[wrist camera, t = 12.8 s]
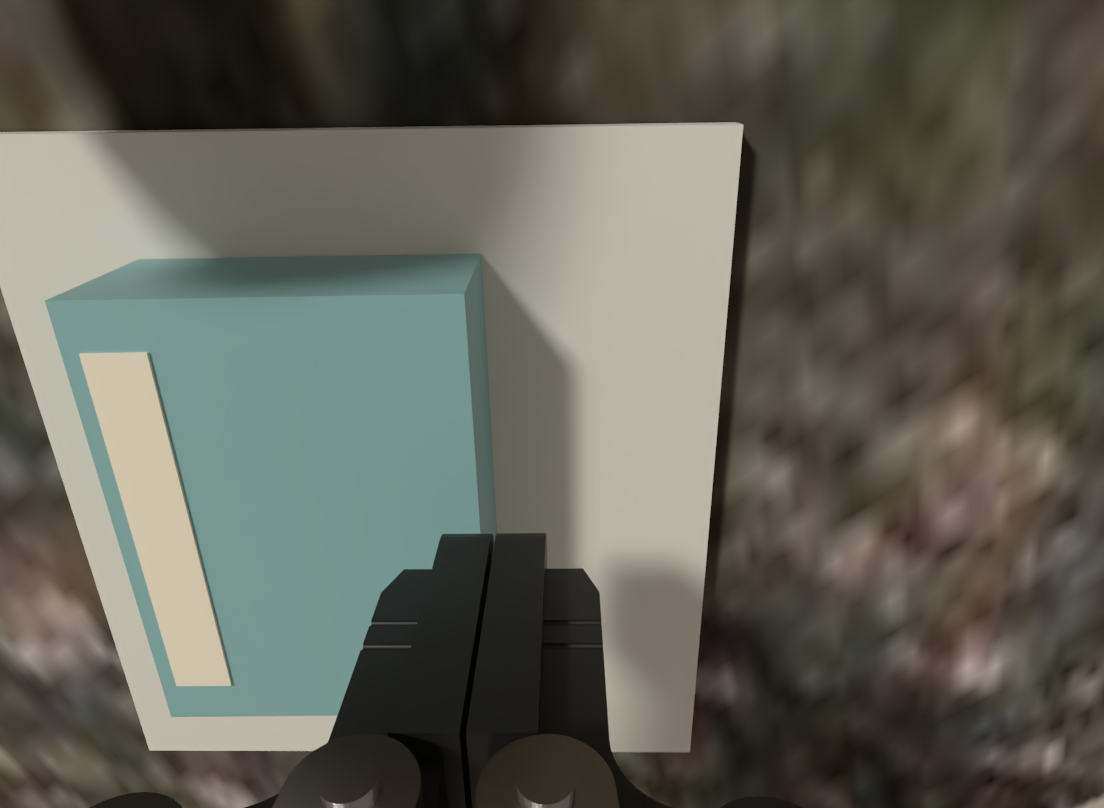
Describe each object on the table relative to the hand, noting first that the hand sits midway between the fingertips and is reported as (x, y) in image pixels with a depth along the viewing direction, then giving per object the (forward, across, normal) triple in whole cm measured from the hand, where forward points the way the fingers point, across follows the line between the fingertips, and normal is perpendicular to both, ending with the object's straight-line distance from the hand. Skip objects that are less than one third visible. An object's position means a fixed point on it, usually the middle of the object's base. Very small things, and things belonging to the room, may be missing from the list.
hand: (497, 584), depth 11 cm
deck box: (+3, 0, 0) cm, 3 cm away
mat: (+5, +3, +1) cm, 5 cm away
